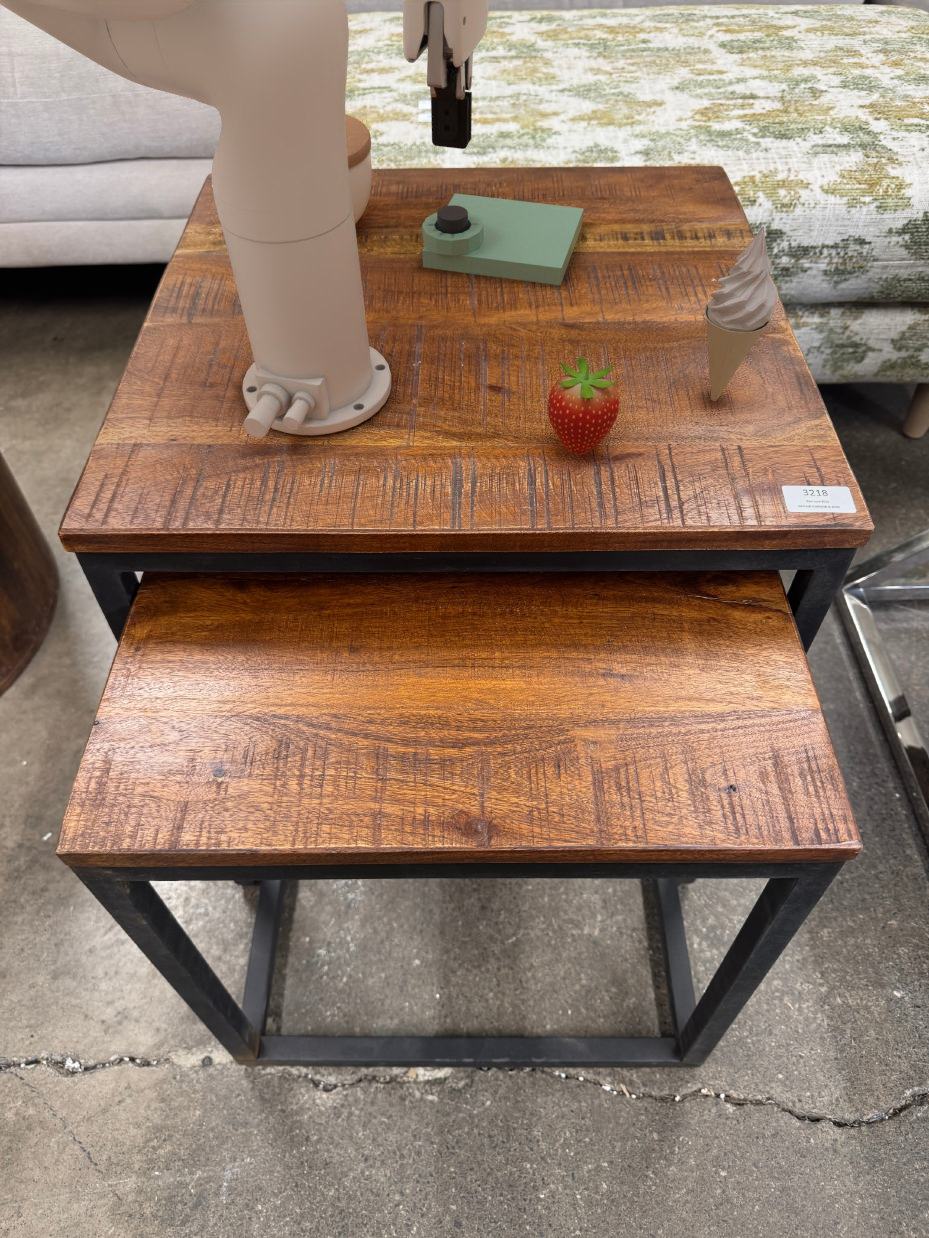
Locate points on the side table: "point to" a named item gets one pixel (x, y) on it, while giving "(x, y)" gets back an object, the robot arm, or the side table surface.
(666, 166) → the side table surface
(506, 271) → the scale
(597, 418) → the fruit
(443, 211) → the button
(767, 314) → the ice cream cone
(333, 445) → the side table surface
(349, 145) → the lidded bowl
